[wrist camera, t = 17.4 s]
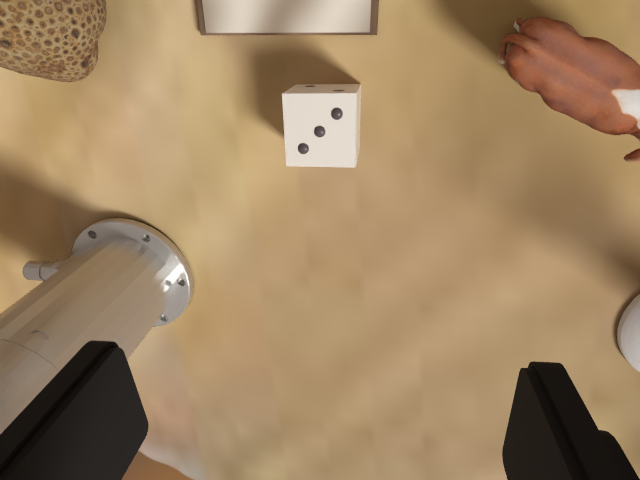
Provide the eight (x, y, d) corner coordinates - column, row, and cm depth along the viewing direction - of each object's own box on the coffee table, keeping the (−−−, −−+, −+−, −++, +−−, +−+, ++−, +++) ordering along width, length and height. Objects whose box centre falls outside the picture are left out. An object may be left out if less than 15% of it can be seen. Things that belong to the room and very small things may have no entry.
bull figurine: (610, 158, 31) (677, 199, 24) (470, 54, 29) (497, 63, 22) (663, 109, 29) (753, 136, 22) (516, -7, 27) (561, -19, 20)
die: (299, 148, 34) (286, 166, 30) (296, 84, 32) (281, 93, 28) (359, 148, 34) (355, 167, 29) (361, 83, 31) (356, 93, 27)
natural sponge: (60, -100, 29) (-84, -154, 20) (160, 7, 31) (70, 1, 22) (7, 4, 32) (-134, -2, 24) (99, 93, 35) (2, 117, 26)
